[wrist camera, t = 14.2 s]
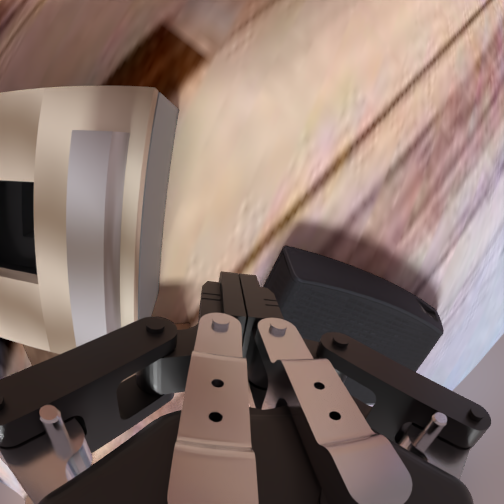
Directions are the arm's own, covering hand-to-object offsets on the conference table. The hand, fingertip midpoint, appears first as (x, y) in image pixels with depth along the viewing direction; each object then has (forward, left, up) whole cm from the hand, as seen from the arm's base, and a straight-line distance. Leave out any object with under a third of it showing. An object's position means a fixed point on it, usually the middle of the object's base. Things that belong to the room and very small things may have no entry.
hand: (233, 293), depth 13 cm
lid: (+1, +15, -2) cm, 16 cm away
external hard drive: (-9, -13, -11) cm, 19 cm away
